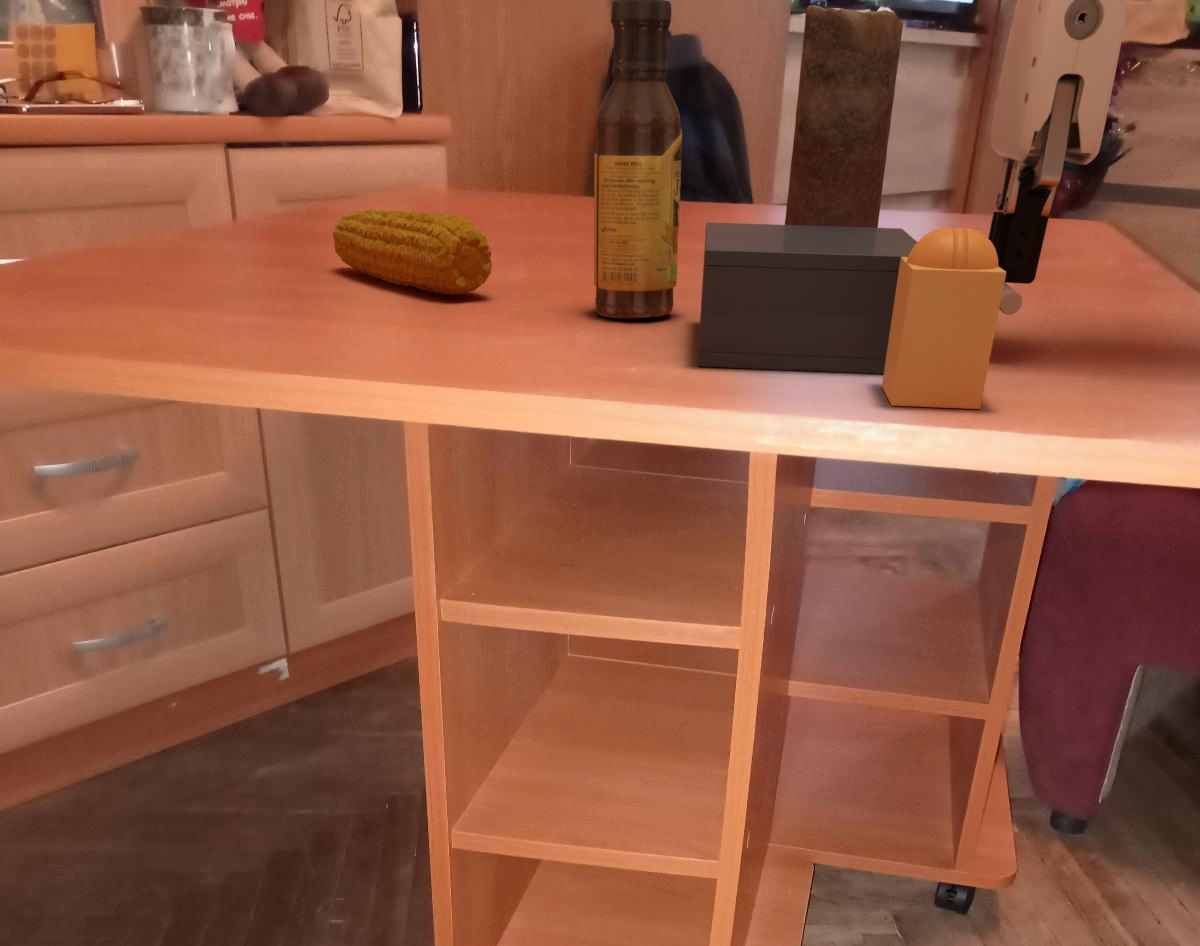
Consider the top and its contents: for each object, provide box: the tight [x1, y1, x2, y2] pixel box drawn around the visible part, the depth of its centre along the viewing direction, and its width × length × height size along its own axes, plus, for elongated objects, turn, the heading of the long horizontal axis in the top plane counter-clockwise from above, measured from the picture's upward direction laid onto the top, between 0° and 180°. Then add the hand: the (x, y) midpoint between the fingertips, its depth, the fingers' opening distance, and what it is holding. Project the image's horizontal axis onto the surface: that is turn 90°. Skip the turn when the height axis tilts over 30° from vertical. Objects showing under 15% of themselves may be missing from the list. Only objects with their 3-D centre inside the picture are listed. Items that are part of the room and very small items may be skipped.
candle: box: [784, 4, 904, 228], centre depth 88 cm, size 8×7×20 cm
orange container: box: [881, 226, 1006, 410], centre depth 65 cm, size 5×5×9 cm
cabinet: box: [697, 222, 918, 375], centre depth 77 cm, size 14×14×7 cm
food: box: [332, 208, 493, 296], centre depth 96 cm, size 21×6×6 cm, turn 41°
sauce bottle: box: [593, 0, 683, 320], centre depth 83 cm, size 6×6×20 cm
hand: (1006, 280), depth 77 cm, fingers closed
